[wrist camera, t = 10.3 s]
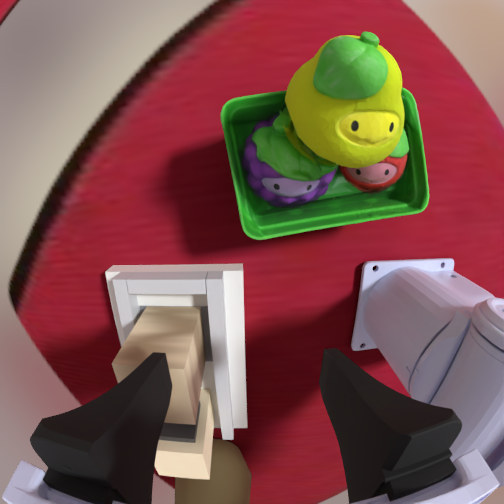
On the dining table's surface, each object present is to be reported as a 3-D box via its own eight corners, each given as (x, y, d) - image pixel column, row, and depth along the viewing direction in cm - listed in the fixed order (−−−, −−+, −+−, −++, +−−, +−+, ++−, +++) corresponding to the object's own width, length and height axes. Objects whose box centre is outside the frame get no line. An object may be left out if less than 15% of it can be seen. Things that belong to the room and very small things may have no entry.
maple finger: (200, 306, 20) (184, 369, 13) (206, 362, 21) (196, 429, 14) (146, 306, 20) (111, 363, 13) (157, 360, 21) (134, 423, 14)
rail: (242, 263, 21) (244, 323, 13) (247, 417, 25) (249, 487, 17) (113, 265, 20) (54, 316, 12) (149, 412, 25) (129, 477, 17)
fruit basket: (244, 226, 20) (247, 293, 9) (220, 101, 18) (196, 26, 7) (392, 201, 20) (501, 235, 9) (374, 87, 17) (472, 39, 7)
